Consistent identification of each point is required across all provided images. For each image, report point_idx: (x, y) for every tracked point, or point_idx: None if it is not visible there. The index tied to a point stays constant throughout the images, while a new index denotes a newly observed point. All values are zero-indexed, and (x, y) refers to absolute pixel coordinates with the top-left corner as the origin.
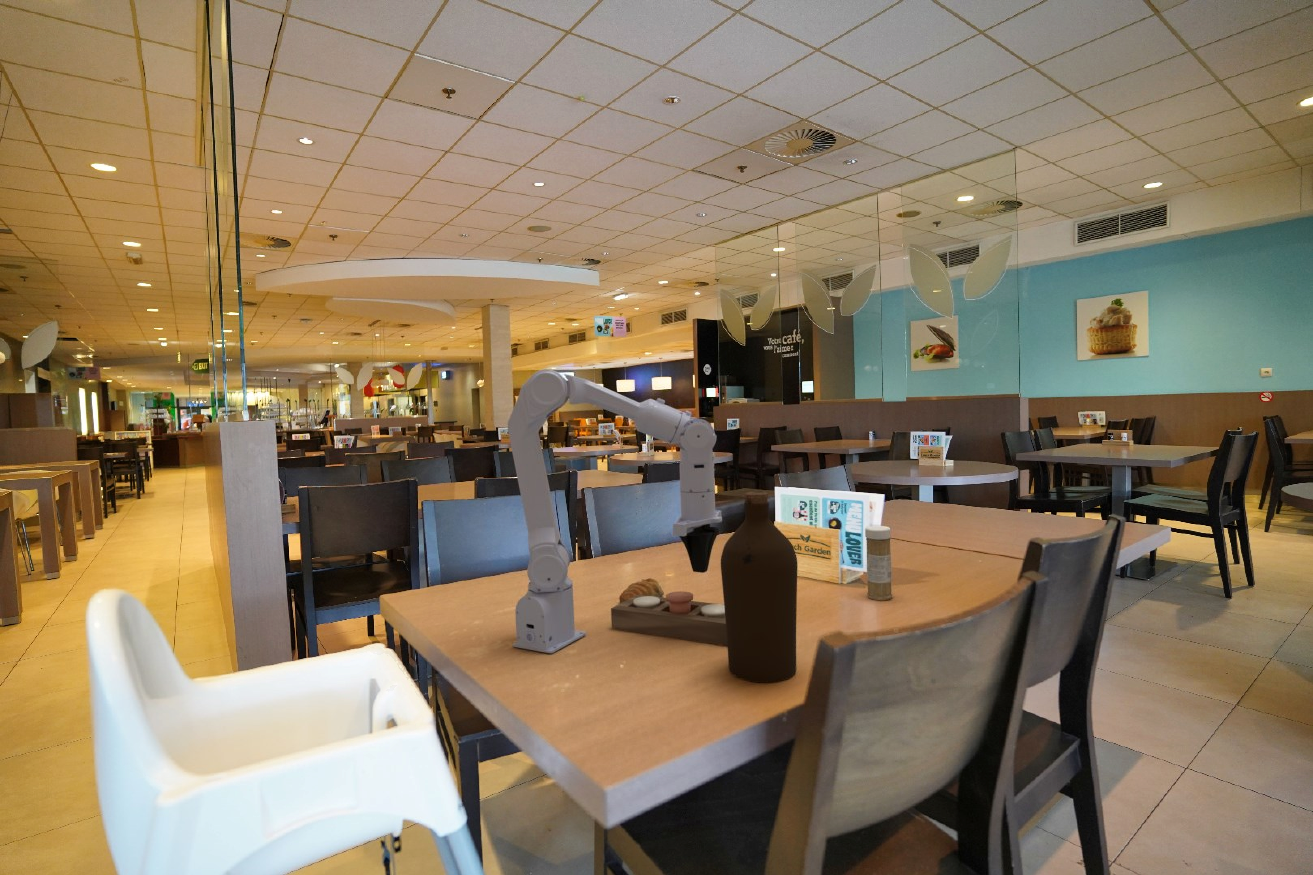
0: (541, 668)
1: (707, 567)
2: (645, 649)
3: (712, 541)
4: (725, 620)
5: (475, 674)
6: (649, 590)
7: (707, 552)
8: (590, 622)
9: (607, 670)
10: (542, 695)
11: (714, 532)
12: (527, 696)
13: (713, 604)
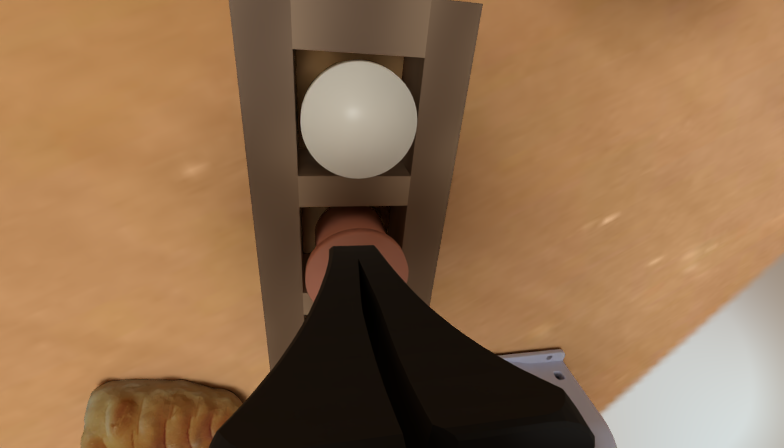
0: (620, 324)
1: (340, 253)
2: (514, 222)
3: (334, 364)
4: (443, 40)
5: (640, 376)
6: (162, 412)
7: (388, 308)
8: None
9: (632, 230)
10: (726, 262)
11: (401, 432)
12: (726, 277)
13: (313, 151)
